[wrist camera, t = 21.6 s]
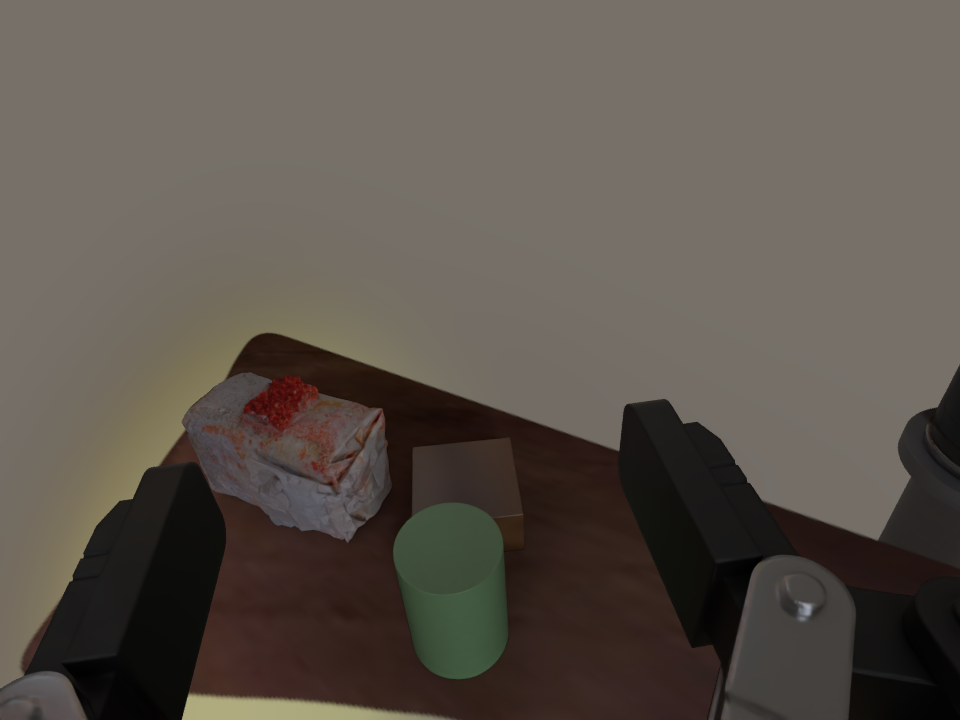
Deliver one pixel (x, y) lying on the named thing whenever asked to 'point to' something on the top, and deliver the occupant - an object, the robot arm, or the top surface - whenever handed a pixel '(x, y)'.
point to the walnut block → (471, 482)
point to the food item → (292, 452)
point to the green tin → (453, 588)
